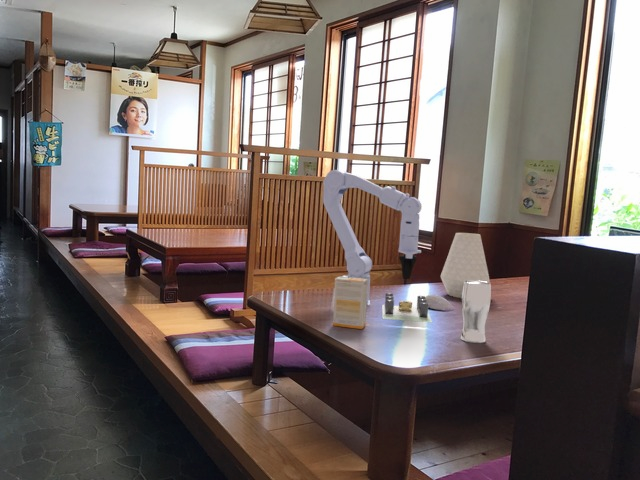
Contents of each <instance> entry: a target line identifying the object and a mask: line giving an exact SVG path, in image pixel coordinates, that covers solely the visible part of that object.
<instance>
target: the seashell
mask: <svg viewBox="0 0 640 480" xmlns="http://www.w3.org/2000/svg"><path fill="white" fill-rule="evenodd" d="M425 300H427V303H428V309H431V310H438V311H442V312H450V311H454V310H455V307H454V306H453V305H452V304H451V302H450V301H449V300H447V299H446V298H445V297H443V296H441V295H436V294H430V295H426V296H425Z"/></svg>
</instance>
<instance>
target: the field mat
mask: <svg viewBox="0 0 640 480" xmlns="http://www.w3.org/2000/svg"><path fill="white" fill-rule="evenodd" d="M381 311H382V312H381V313H382V315H381V317H382V319H383V320H393V321H407V322H417V323H418V322H419V323H433V320H432V318H431V315H430V313H429V312H428V317H427V318H422V317H419V313H418V309H417V306H412V311H410V312H405V311H400V310H399V305H394V309H393V314H385V304H382V307H381Z"/></svg>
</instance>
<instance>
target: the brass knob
mask: <svg viewBox="0 0 640 480" xmlns="http://www.w3.org/2000/svg"><path fill="white" fill-rule="evenodd" d="M398 306H399V310H400V311H405V312H410V311H412V307H413V302H412V301H408V300H399V301H398Z"/></svg>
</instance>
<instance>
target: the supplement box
mask: <svg viewBox="0 0 640 480" xmlns="http://www.w3.org/2000/svg"><path fill="white" fill-rule="evenodd" d="M342 276H343V275H342ZM342 276H337V277H335V278H334V293H333V312H332V313H333V317H332V321H333V322H332V326H334V327H343V328H351V329H358V330H362V329H363V328H365V327H366V325H367V324H366V323H367V307H368V305H367V286H368V279H364V278H353V277H342Z"/></svg>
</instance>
